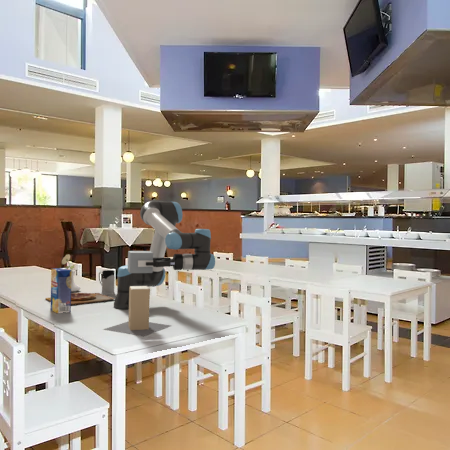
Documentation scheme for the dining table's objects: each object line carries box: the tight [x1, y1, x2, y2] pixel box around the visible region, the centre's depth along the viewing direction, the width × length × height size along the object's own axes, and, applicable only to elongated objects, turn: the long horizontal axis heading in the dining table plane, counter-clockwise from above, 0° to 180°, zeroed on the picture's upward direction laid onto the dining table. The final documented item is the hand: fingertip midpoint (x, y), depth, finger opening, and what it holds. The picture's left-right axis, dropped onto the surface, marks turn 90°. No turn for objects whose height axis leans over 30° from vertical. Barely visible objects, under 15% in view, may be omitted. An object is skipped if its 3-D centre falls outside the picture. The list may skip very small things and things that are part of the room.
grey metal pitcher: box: [98, 269, 116, 296], centre depth 286 cm, size 9×14×15 cm, turn 53°
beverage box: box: [49, 267, 73, 314], centre depth 230 cm, size 7×11×22 cm, turn 40°
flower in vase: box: [61, 254, 81, 293], centre depth 289 cm, size 13×11×25 cm
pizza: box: [45, 292, 116, 306], centre depth 261 cm, size 35×28×4 cm
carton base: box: [127, 286, 151, 330], centre depth 198 cm, size 8×8×18 cm
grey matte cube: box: [127, 250, 153, 273], centre depth 198 cm, size 10×10×9 cm
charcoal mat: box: [102, 321, 172, 337], centre depth 198 cm, size 22×22×1 cm
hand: (136, 262), depth 197 cm, fingers open, 13 cm apart
